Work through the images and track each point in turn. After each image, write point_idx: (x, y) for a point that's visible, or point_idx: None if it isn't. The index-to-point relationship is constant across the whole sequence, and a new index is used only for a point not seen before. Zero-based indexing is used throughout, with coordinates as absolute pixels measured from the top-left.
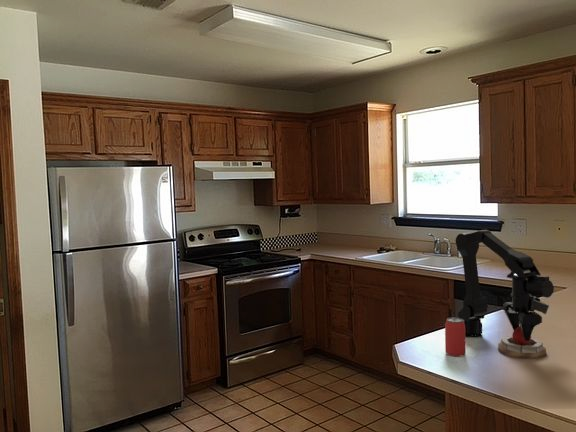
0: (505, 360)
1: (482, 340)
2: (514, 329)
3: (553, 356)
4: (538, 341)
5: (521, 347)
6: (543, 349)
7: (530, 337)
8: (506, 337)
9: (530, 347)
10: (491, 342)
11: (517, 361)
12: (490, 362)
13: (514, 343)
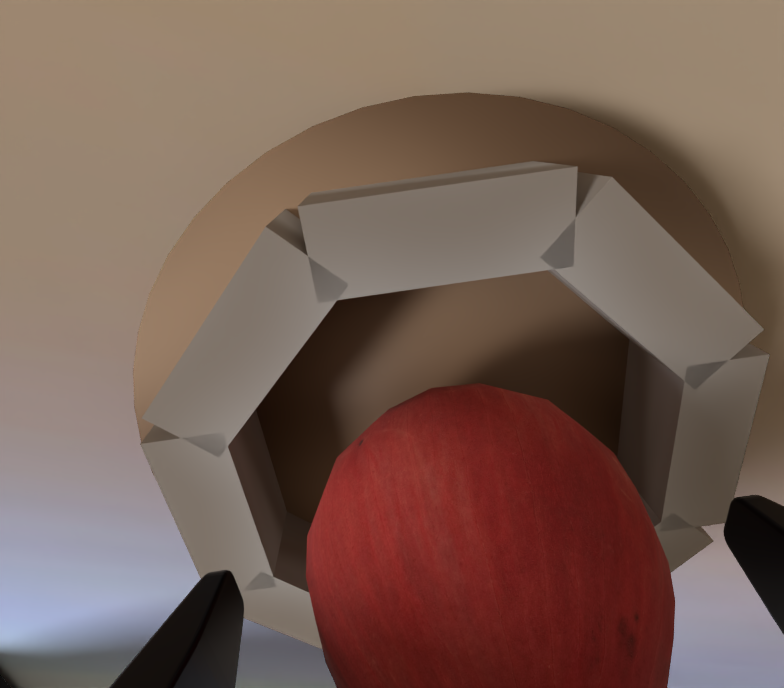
0: (695, 566)
1: (122, 658)
2: (229, 686)
3: (657, 27)
4: (462, 221)
5: (689, 514)
6: (565, 156)
7: (593, 443)
8: (286, 620)
9: (747, 424)
10: (165, 605)
11: (741, 490)
12: (716, 650)
13: (300, 480)
